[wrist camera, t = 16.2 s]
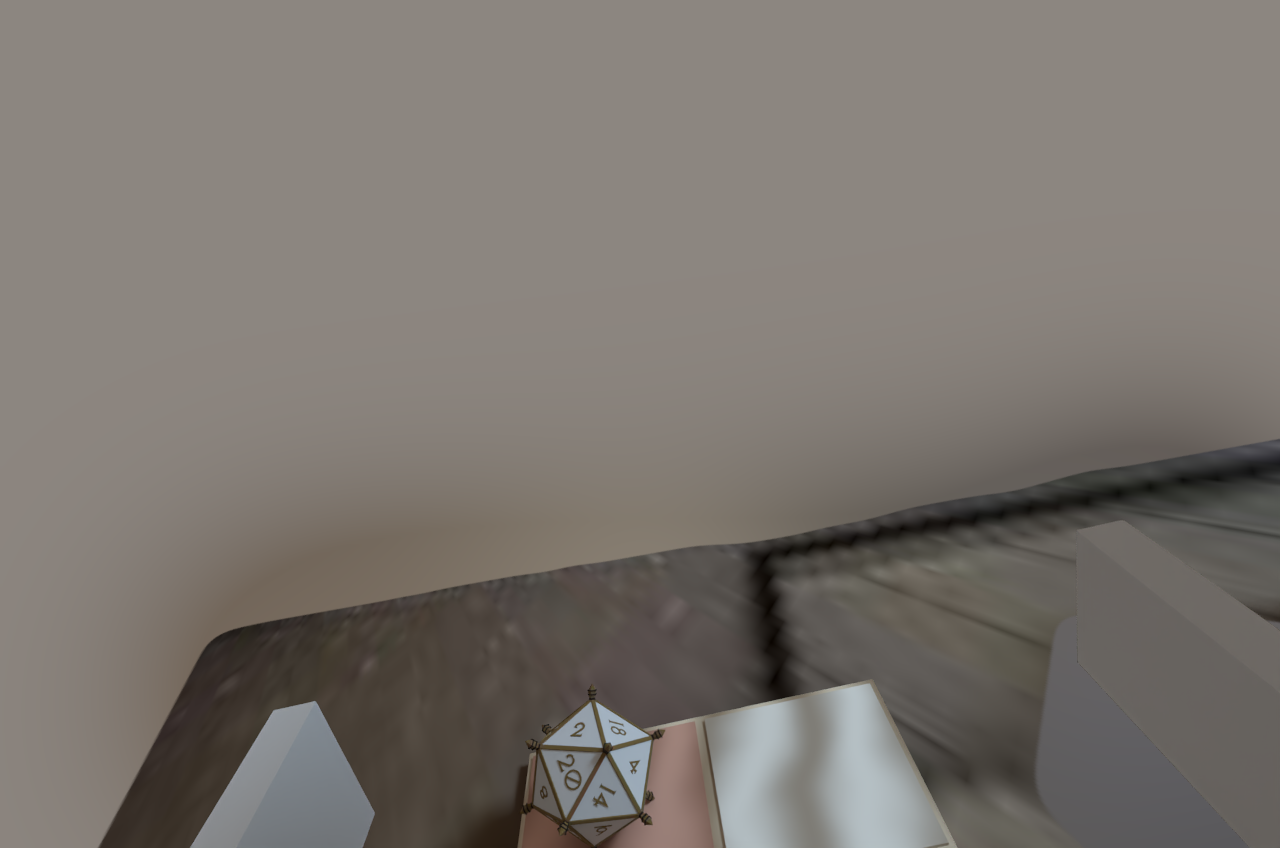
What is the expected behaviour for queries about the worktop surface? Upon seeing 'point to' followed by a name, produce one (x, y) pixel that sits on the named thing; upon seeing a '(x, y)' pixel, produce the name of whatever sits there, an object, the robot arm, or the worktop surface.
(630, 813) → the game die
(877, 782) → the game board
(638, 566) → the worktop surface
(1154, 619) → the robot arm
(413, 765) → the worktop surface
